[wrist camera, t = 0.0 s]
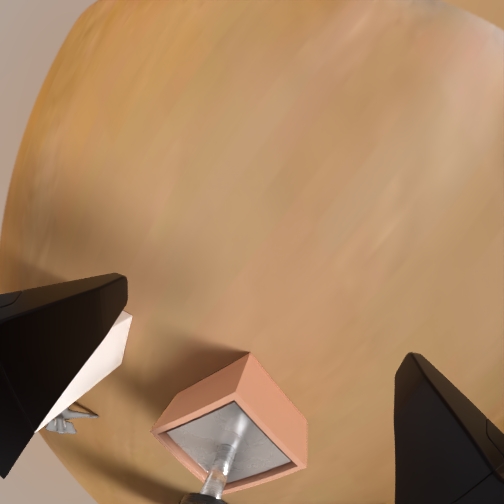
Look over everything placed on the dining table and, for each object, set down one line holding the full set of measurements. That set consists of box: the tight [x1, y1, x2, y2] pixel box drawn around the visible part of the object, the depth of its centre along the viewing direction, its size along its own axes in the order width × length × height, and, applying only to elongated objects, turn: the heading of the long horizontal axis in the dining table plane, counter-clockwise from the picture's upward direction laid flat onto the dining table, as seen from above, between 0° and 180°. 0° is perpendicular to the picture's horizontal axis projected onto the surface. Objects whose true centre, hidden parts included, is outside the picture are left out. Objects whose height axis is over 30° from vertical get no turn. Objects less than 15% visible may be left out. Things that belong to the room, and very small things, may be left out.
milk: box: [34, 311, 132, 434], centre depth 16 cm, size 6×6×22 cm
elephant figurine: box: [45, 406, 99, 434], centre depth 27 cm, size 10×6×9 cm
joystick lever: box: [166, 400, 291, 504], centre depth 16 cm, size 7×7×10 cm
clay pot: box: [150, 352, 307, 495], centre depth 23 cm, size 9×9×6 cm
